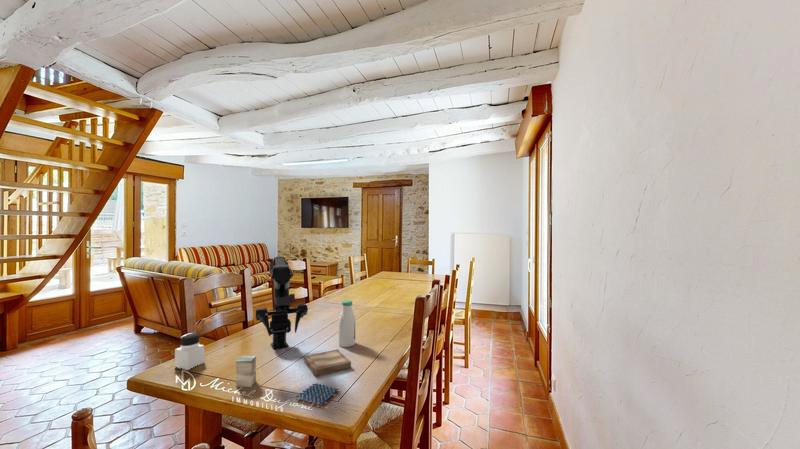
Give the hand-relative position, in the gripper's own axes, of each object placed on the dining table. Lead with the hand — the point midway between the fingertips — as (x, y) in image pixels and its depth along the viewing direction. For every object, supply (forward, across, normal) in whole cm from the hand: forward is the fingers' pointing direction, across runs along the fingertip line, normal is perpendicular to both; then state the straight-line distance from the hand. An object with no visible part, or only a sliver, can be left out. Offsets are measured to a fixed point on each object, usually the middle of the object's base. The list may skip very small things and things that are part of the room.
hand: (282, 334), depth 119 cm
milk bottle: (+2, +29, +23) cm, 37 cm away
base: (+12, +17, +8) cm, 22 cm away
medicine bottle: (0, -33, +25) cm, 42 cm away
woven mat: (+25, +10, -9) cm, 28 cm away
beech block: (+14, -12, +5) cm, 19 cm away
